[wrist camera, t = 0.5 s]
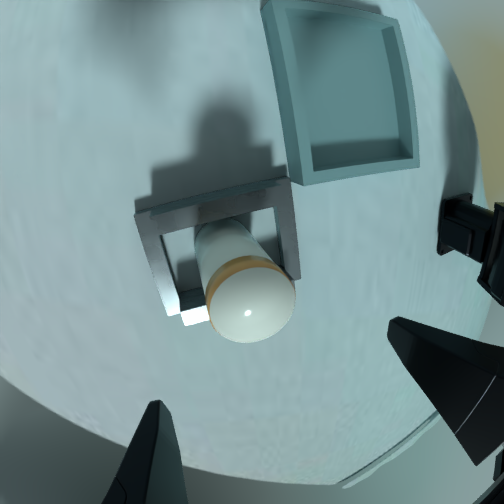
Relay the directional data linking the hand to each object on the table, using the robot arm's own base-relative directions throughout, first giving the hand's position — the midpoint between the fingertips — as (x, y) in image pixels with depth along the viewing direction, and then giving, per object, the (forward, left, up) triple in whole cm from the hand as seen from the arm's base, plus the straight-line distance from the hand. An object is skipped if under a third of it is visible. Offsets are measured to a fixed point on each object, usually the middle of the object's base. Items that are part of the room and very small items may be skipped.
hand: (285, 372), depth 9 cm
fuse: (0, 0, -12) cm, 12 cm away
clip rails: (0, 0, -12) cm, 12 cm away
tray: (-11, -10, -12) cm, 19 cm away
